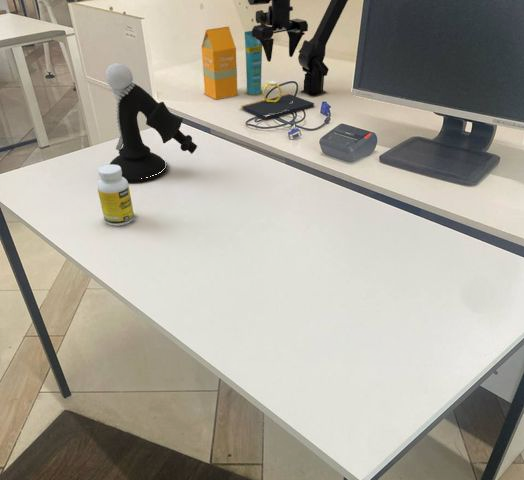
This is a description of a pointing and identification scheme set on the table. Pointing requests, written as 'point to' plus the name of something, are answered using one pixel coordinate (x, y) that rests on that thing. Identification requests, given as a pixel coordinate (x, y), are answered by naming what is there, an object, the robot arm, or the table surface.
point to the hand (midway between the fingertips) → (279, 59)
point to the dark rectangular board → (277, 106)
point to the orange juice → (219, 63)
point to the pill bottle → (114, 195)
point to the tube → (253, 63)
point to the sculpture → (158, 117)
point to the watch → (272, 85)
